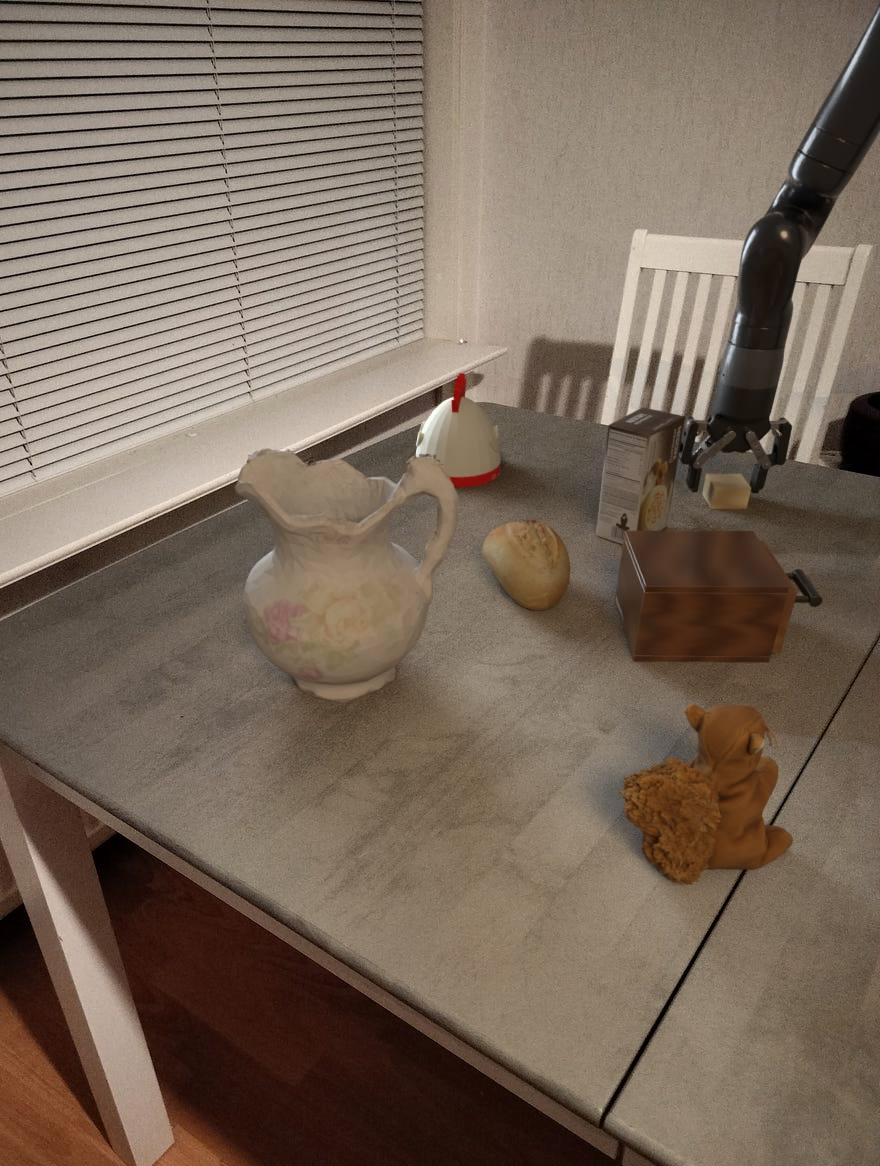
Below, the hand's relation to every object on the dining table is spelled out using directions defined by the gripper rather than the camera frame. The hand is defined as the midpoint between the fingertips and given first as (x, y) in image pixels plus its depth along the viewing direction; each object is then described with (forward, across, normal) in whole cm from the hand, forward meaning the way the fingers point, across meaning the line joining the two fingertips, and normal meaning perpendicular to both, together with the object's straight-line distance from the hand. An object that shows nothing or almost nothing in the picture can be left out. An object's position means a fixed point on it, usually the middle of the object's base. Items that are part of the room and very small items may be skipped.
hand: (723, 490), depth 121 cm
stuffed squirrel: (+3, -19, -64) cm, 67 cm away
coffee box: (+4, -14, -6) cm, 15 cm away
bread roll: (+4, -30, -21) cm, 37 cm away
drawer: (+2, -8, -31) cm, 32 cm away
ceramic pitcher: (+4, -50, -39) cm, 63 cm away
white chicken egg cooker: (+4, -38, +16) cm, 41 cm away
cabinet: (+3, -12, -31) cm, 33 cm away
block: (+3, 0, 0) cm, 3 cm away
